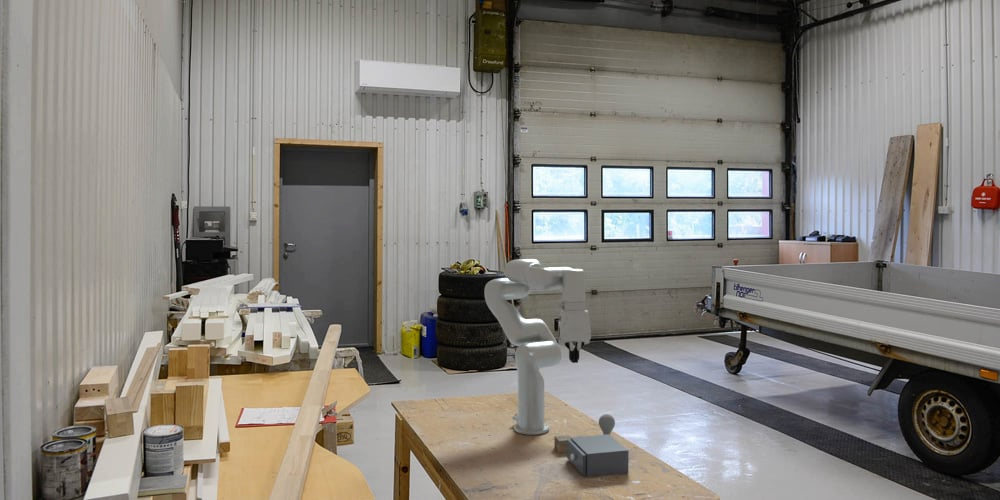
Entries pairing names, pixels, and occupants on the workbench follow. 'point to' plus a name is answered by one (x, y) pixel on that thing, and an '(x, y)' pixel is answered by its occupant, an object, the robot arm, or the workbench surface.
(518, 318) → the robot arm
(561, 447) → the brown block
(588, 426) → the workbench surface
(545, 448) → the workbench surface
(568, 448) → the grey drawer
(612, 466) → the box
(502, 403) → the workbench surface
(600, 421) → the light bulb
